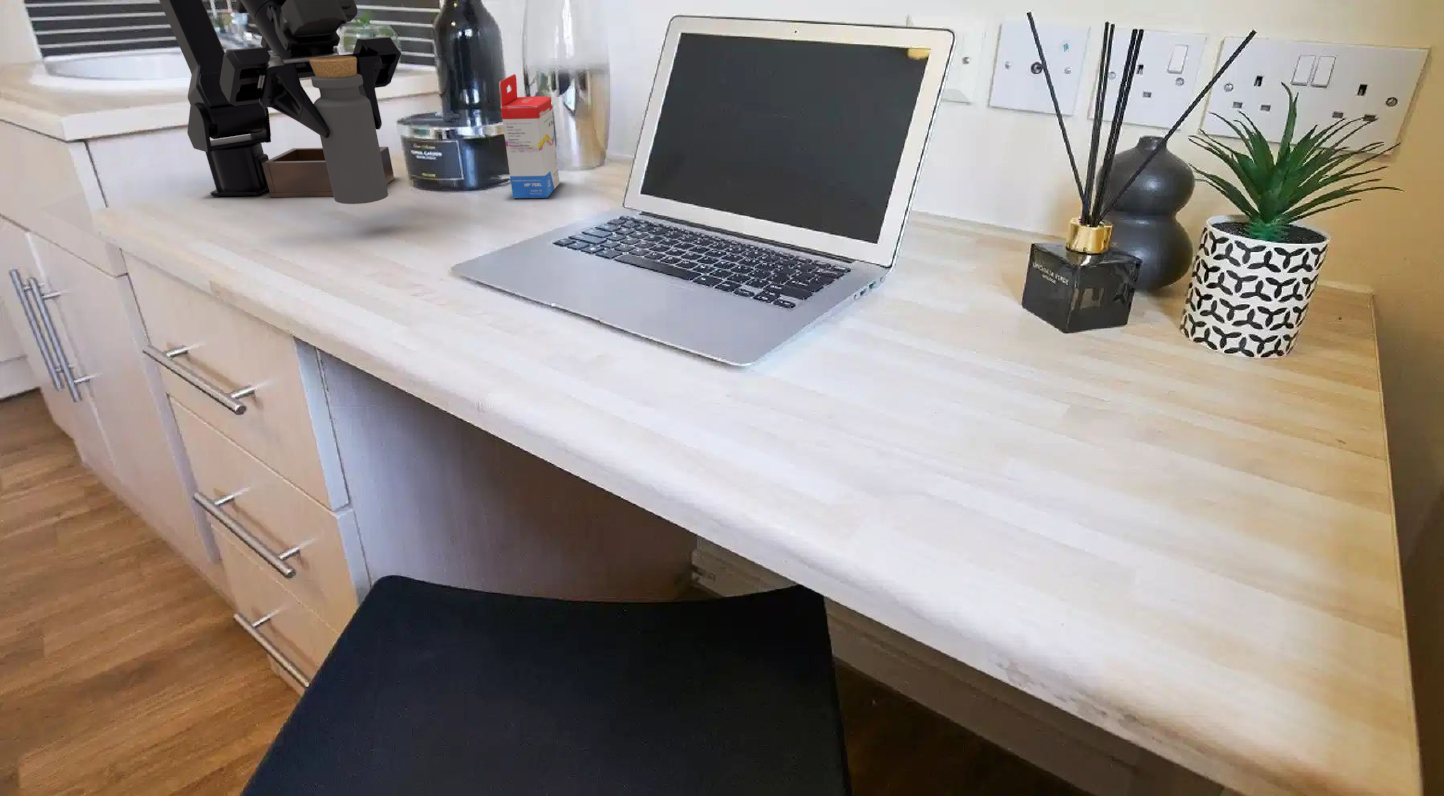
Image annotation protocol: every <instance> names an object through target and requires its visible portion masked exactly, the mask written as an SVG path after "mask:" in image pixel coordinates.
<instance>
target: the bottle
mask: <svg viewBox="0 0 1444 796" xmlns="http://www.w3.org/2000/svg"><path fill="white" fill-rule="evenodd" d="M309 62H310V64H311V66H312V69H313V71H314V73H315V76H314V77H312V78H311V79H310V81H311V85H312V87H313V88H315V89H318V90H319V91H318V92H319V95H320V96H319V97H318V98H316V99H315V101H314V102H313V104H314V105H315V107H316V108H317V110H318V111H319V113H320V114H321V116H322V117H323V119H324V121H325V123H326V125H327V127H328V128H329V130H330V134H329V137H328V138H324V137H322V136H320V135H319V139H320V142H321V148H323V152H324V157H325V161H326V165H327V170H328V174H329V178H330V183H331V187H332V192H333V196H332V197H333V199H334V202H336V203H338V204H339V203H340V204H345V205H362V204H371V203H375V202H378V201H381V200H385V199H386V198H387V197H388V196H389V191H388V184H387V185H386V179H385V174H384V169H383V163H382V158H381V153H380V148H379V147H380V143H379V138H378V133H377V129H376V127H375V122H374V117H373V112H372V107H371V103H370V100H369V99H368V98H366V97H365V96H363V95H361V94H360V92H359V86H360V85H362V84H363V79H362V76H361V75H360V74H357V58H356V57H353V56H326V57H316V58H311V59H309Z"/></svg>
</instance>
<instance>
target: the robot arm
mask: <svg viewBox="0 0 1444 796" xmlns="http://www.w3.org/2000/svg"><path fill="white" fill-rule="evenodd" d="M158 2H159V3H160V5H161V9H162V11H163V12H164V15H165V17H166V20H167V21H168V23H169V26H170V28H171V31H172V33H173V35H174V37H175V39H176V42H177V44H178V46H179V48H180V51H181V54H182V55H183V58H184V60H185V62H186V65H187V67H188V69H189V71H190V75H191V76H190V81H189V85H188V91H187V100H188V102H189V105H190V107H189V115H188V122H187V130H186V131H187V136H188V139H189V141H190V143H191V146H192V148H193V149H194V150H198V151H202V152H205V156H206V159H207V162H208V166H209V170H210V173H211V176H212V180H213V183H214V185H215V186H214V187H215V190H212V191H210V196H211V197H229V196H230V197H232V196H233V197H234V196H236V197H237V196H259V195H261V194H263V193H265V192H267V191H268V190H269V187H268V184H267V180H266V176H265V172H264V169H263V165H262V163H263V162H265V161H267V160H270V158H269V155H268V154H267V153H264V149H263V145H262V144H264V143H266V144H269V143H271V142H272V138H271V137H272V133H271V123H270V122H271V120H270V111H269V108H271V109H273V110H275V111H277V112H279V113H281V114H284V115H285V116H287V117H289V118H291V119H293V120H295V121H296V122H298V123H299V124H301V125H302V126H304V127H306V128H307V129H309V130H310V131H312V132H314V133H316V134H317V135H319V137H320V136H322V137H324V138H328V137H329V134H330V130H329V128H328V127H327V125H326V123H325V121H324V119H323V117H322V116H321V114H320V113H319V111H318V110H317V108H316V107H315V105H314V102H313V101H312V99H311V97H310V96H309V94H308V93H307V92H306V90H305V89H304V87H303V86H302V85H303V84H302V82H301V81H308V80H311V78H312V77H314V76H315V73H314V71H313V69H312V66H311V64H310V62H309V59H311V58H316V57H326V56H353V57H356V58H357V74H360V75H361V76H362V79H363V84H362V85H360V86H359V92H360V94H361V95H363V96H365V97H366V98H368V99H369V100H370V103H371V107H372V112H373V117H374V122H375V127H376V131H378V130H381V128H382V126H383V124H382V123H383V122H382V117H381V111H380V107H379V102H378V97H377V93H376V88H377V89H378V88H385V87H387V86H388V85H390V84H391V83H392V80H393V78H394V75H395V72H396V69H397V67H398V63H399V61H400V58H401V57H402V51H401V50H400V48H399V47H398V46H397V44H396V42H395V41H394V39H392V38H391V36H375V37H373V36H372V37H362V38H356V41H355V45H354V49H353V51H352V53H347V54H339V53H338V52H335V49H334V48H335V47H338V46H339V44H340V40H341V37H340V36H339V34H338V33H337V31H338V30H339V29H340V28H341V27H342V26H343V25H346V24H347V23H351V22H352V21H353V20H354V19H355V17H357V16H358V10H359V9H358V6H357V4H356V1H355V0H235V9H236V11H237V13H238V14H248V15H249V17H250V18H251V20H252V21H253V23H254V26H256V28H257V30H258V31H259V33H260V34H261V40H260V45H261V46H254V47H241V48H231V49H230V48H229V49H226V50H225V49H224V47H223V44H222V42H221V40H220V37H219V36H218V33H217V30H216V28H215V27H214V23H213V22H212V20H211V17H210V15H209V12H208V10H207V8H206V5H205V3H204V1H203V0H158ZM269 52H272V53H273V54H270V53H269Z"/></svg>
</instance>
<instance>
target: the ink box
mask: <svg viewBox="0 0 1444 796" xmlns="http://www.w3.org/2000/svg"><path fill="white" fill-rule="evenodd" d="M517 81H518V79H517V76H516V74H515V73H514V74H512V75H509V76H507V77H505V78H504V79H503V78H502V79H501V80H499V82H498V90H499V91H498V92H499V102H500V114H501V119H502V127H503V128H502V129H503V136H504V142H505V149H506V156H507V157H506V158H507V164H508V171H509V179H510V185H511V193H512V198H513V199H541V198H549V196H550V195H551V194H552V193H553V192H554V191H555V190H556V188H558V186H559V185H560V174H559V165H558V164H559V163H558V155H557V146H556V145H557V144H556V136H555V127H554V125H555V124H554V115H553V105H552V97H551V96H543V95H542V96H541V95H540V96H539V95H537V96H536V95H533V96H518V83H517ZM508 87H509V88H510V89H509V91H507V88H508Z"/></svg>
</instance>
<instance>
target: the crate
mask: <svg viewBox="0 0 1444 796" xmlns="http://www.w3.org/2000/svg"><path fill="white" fill-rule="evenodd" d="M379 148H380V153H381V158H382V163H383V169H384V174H385V179H386V185H387V186H388V184H390V183H391V182H393V180H395V175H394V169H393V165H392V159H391V154H390V149H389V146H379ZM262 165H263V169H264V172H265V176H266V180H267V184H268V187H269V189H268V190H269V195H270V197H271V198H297V197H298V198H301V197H302V198H305V197H306V198H307V197H308V198H310V197H334V196H333V192H332V187H331V183H330V178H329V174H328V170H327V165H326V161H325V157H324V152H323V148H322V147H293V148H290V149H288V150H286V151H284V152H283V153H280V154H279V155H275V156H273V157H272V158H269V160H267V161H265V162H263V163H262Z"/></svg>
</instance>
